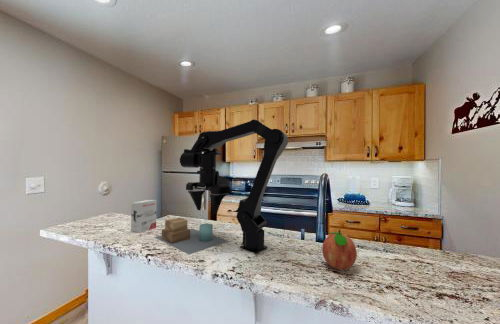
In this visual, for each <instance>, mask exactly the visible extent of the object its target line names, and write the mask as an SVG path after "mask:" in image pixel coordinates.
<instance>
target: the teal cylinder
mask: <svg viewBox="0 0 500 324" xmlns="http://www.w3.org/2000/svg"><path fill="white" fill-rule="evenodd" d="M213 226H214V225H213V223H201V224H199V230H198V231H199V240H200V241H202V242H208V241H211V240H212V238H213V236H214V235H213V234H214V233H213V231H214V229H213Z"/></svg>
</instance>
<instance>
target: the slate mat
mask: <svg viewBox="0 0 500 324" xmlns="http://www.w3.org/2000/svg"><path fill="white" fill-rule="evenodd" d="M189 229H190V239H187V240H184V241H180V242H176V243H173V244H171V243H169V242H167V241H165V240H163V239H162V234H161V235H158V236H154V239H157V240H159V241H161V242H164V243H165V244H166V245H169V246H171V247H173V248H175V249H177V250H179V251H181V252H183V253H185V254H187V255H191V254H195V253H198V252H201V251H204V250H207V249H209V248H213V247H216V246H219V245H222V244H225V243H228V242H229V240H227V239H224V238H221V237H218V236H215V235H213V238H212V240H211V241H208V242H202V241H200V240H199V230H198V229H195V228H189Z"/></svg>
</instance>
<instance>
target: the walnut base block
mask: <svg viewBox="0 0 500 324" xmlns="http://www.w3.org/2000/svg"><path fill="white" fill-rule="evenodd" d="M190 229H191V228H188V227H187V230H183V231H178V232H174V233H172V232H170V231H168V230H165V228H161V235H162V239H163V240H165V241H167V242H169V243H171V244H173V243H176V242H180V241H184V240H187V239H190Z"/></svg>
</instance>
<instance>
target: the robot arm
mask: <svg viewBox="0 0 500 324" xmlns="http://www.w3.org/2000/svg"><path fill="white" fill-rule="evenodd" d="M254 134H256V135H258V136H259V137H260V138H262V139H264V143H263V156H262V160H261V162H260V164H259V167H258V169H257V172H256V174H255V178H254V181H253V184H252V186H251V188H250V192H249V194H248V196H247V197H246V198H243V199H241V200H239V204H238V208H237V209H236V210H235V212H236V219H237V222H238V223H239V225H240V228H241V231H242V245H241V246H239V248H240V249H243V250H245V251H247V252H250V253H253V254H257V253H260V252H262V251H264V250H266V249H268V246H267V245H265V230H264V228H265V227H266V224H267V220H266V219H265V217H264V216H263V215H261V211H262V201H263V197H264V194H265V191H266V189H267V186H268V183H269V181H270V178H271V176H272V173H273V171H274V168H275V166H276V162H277V161H278V159H279V158H280V156H281V155H282V154H283V152H284V151H285V149H286V148H287V146H288V144H289V137H288V136H287V134H286V133H285V132H284V131H282V130H281V129H279V128H271V127H268V126H267V125H265V124H263V123H262V122H261V121H259V120H257V118H255V119H251V120H250V121H246V122H244V123H240V124H236V125H233V126H231V127H228V128H224V129H221V130H209V131H202V132H200V133H199V134H198V137H197V139H196V141H195V142H194V144H193V146H192V147H191V149H188V148H187V149H185V148H184V149H183V153H181V155H180V157H179V164H180V165H181V166H180V167H182V168H193V169H194V168H195V169H198V168H199V170H197V171H196V174H198V176H199V181H193V182H191V181H190V182H189V181H188V182H187V183H186V185H185V190H186V191H187V193H189V195H190V197H191V199H192V201H193V203H194V206H195V207H196V210H197V211H201V210H202V200H203V195H204V194H205V192H206V191H210V193H211V194H209V198H210V204H211V208H212V209H211V210H212V212H213V215H217V214H218V212H219V209H220V206H221V203H222V201H223V199H224V198H225V197H227V196H228V195H229V194H231V193H232V187H231V186H230V185H229V179H228V178H226V177H224V176H221V175H220V172H219V170H217V156H223V154H222V152H221V151H219V149H218V148H220V147H222V146H223V145H225V144H226V143H228V142H231V141H235V140H238V139H240V138H241V139H242V138H244V137H248V136H251V135H254Z"/></svg>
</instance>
